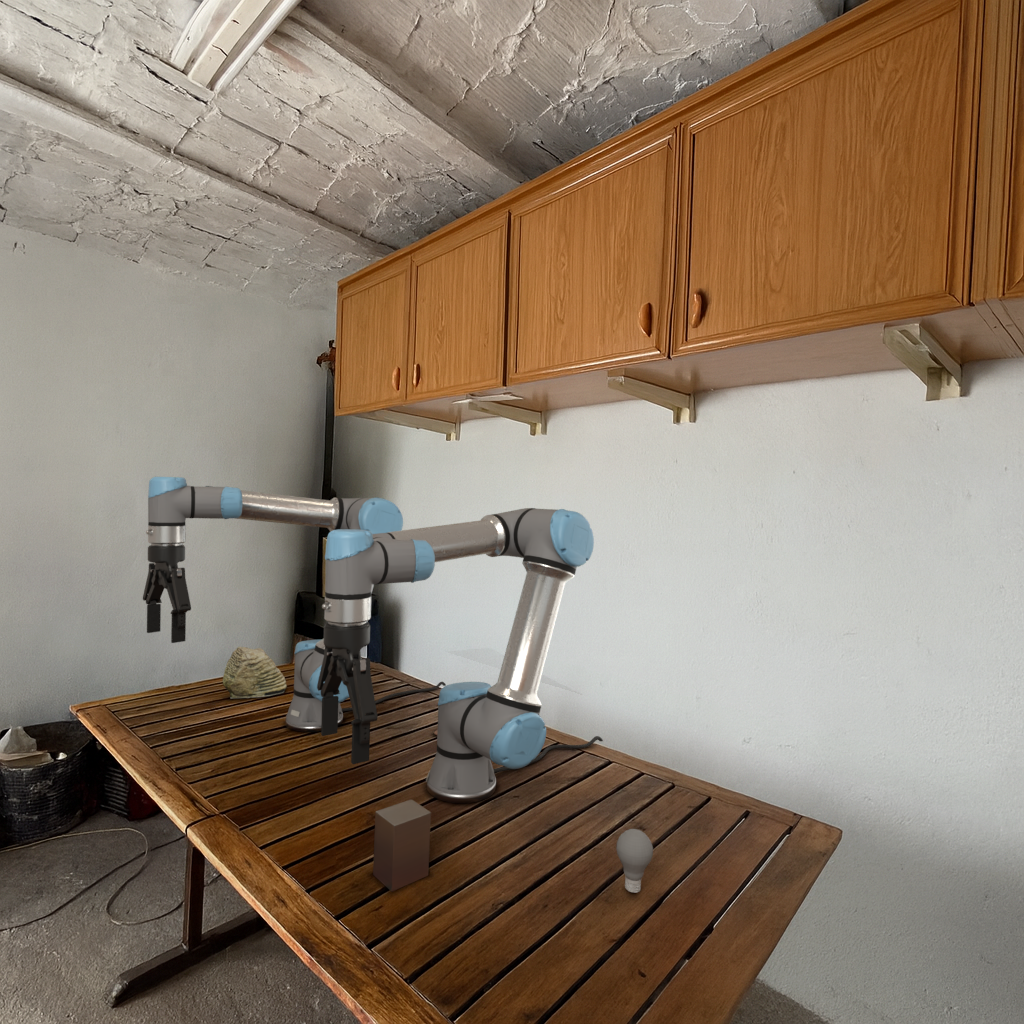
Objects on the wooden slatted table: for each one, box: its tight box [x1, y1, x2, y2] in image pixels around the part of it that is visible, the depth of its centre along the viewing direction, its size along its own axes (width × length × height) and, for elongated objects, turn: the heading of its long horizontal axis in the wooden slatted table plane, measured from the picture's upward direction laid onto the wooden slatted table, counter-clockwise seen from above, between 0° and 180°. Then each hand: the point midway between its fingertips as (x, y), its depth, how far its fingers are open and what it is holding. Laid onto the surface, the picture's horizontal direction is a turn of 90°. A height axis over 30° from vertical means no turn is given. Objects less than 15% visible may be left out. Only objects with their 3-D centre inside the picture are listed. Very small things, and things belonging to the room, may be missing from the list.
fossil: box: [222, 646, 288, 699], centre depth 198 cm, size 9×18×15 cm, turn 132°
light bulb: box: [615, 828, 654, 894], centre depth 106 cm, size 6×6×10 cm
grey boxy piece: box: [372, 798, 432, 892], centre depth 107 cm, size 6×7×11 cm
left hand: (165, 636), depth 145 cm, fingers open, 13 cm apart
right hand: (344, 747), depth 107 cm, fingers open, 13 cm apart
